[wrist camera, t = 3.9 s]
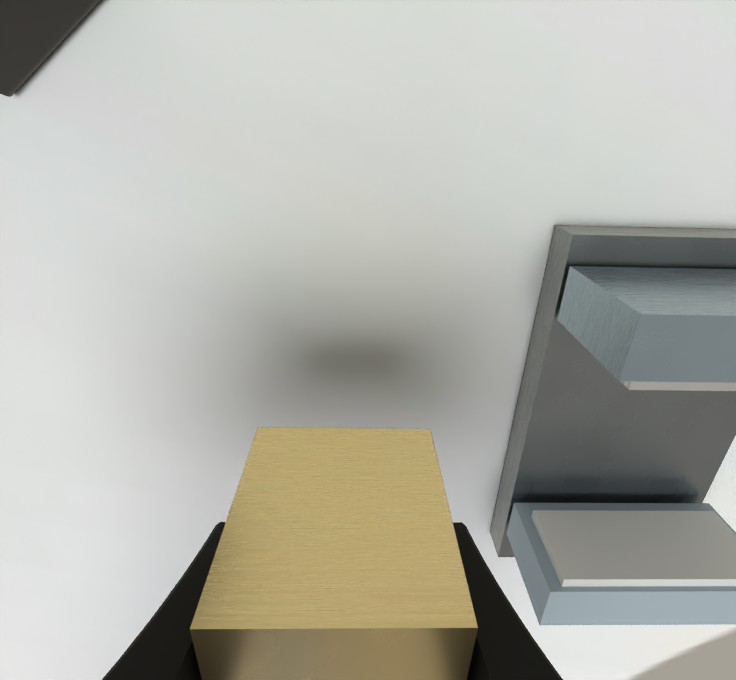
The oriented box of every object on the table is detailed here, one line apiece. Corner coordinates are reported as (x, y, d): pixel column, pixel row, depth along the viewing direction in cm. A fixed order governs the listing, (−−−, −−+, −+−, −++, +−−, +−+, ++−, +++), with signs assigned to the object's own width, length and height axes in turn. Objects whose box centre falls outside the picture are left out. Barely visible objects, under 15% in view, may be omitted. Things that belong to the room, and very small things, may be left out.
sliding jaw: (693, 534, 21) (766, 623, 17) (506, 533, 21) (539, 625, 17) (712, 497, 20) (794, 584, 16) (515, 496, 20) (552, 584, 16)
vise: (657, 531, 23) (745, 653, 18) (490, 531, 23) (529, 655, 18) (793, 230, 16) (1005, 283, 11) (554, 225, 16) (653, 276, 11)
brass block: (418, 539, 13) (450, 755, 9) (268, 539, 13) (220, 759, 8) (430, 429, 11) (478, 627, 7) (257, 427, 11) (189, 629, 7)
